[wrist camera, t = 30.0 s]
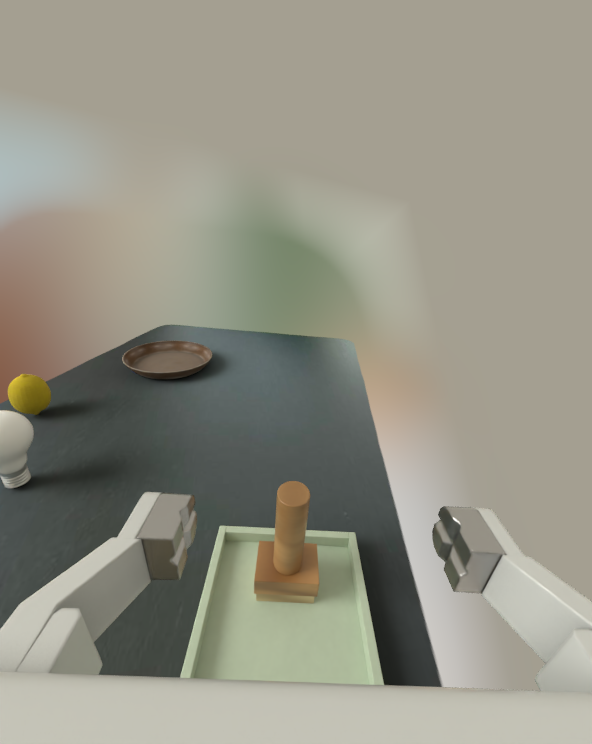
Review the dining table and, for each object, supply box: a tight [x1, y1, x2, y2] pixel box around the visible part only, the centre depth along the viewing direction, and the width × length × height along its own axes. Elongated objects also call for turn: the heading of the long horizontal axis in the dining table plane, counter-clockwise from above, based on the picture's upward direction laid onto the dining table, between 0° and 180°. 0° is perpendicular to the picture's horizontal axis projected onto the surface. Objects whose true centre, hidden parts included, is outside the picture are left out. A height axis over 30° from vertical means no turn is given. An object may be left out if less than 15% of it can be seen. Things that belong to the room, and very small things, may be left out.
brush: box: [254, 481, 319, 604], centre depth 28 cm, size 6×4×12 cm, turn 90°
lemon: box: [8, 374, 51, 415], centre depth 53 cm, size 6×6×8 cm
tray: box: [180, 526, 384, 685], centre depth 25 cm, size 16×24×2 cm, turn 0°
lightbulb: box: [0, 410, 34, 488], centre depth 38 cm, size 6×6×11 cm
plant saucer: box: [122, 341, 212, 379], centre depth 76 cm, size 21×21×3 cm
